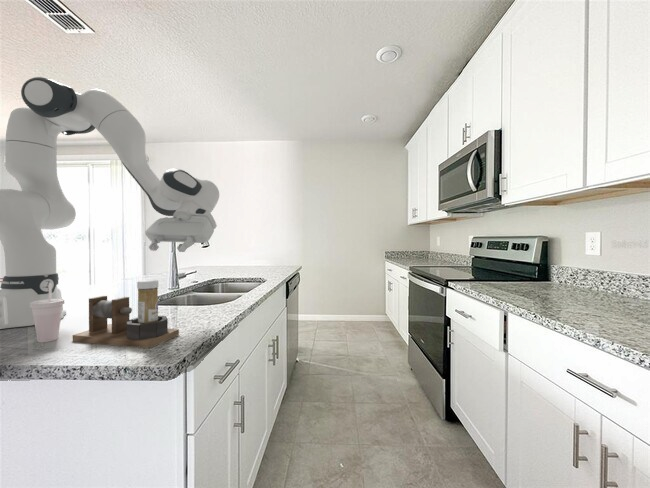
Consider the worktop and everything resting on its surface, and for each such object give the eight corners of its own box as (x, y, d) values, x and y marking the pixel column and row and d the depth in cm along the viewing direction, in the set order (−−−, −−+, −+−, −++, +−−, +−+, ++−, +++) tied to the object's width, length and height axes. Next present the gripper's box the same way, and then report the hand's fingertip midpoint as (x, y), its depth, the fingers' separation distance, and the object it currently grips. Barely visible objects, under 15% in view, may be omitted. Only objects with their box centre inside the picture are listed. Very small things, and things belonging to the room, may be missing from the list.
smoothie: (71, 337, 77) (70, 282, 77) (40, 345, 71) (39, 286, 71) (54, 334, 79) (54, 281, 79) (23, 342, 73) (22, 284, 73)
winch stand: (72, 341, 74) (72, 300, 74) (109, 329, 84) (109, 293, 84) (149, 348, 69) (148, 305, 69) (178, 335, 79) (178, 297, 79)
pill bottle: (159, 334, 75) (158, 280, 74) (137, 337, 72) (137, 281, 72) (158, 329, 79) (157, 278, 78) (137, 332, 76) (137, 279, 76)
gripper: (156, 210, 96) (129, 241, 86) (213, 210, 91) (191, 243, 82) (166, 225, 100) (141, 255, 91) (221, 226, 96) (201, 258, 86)
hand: (166, 249), depth 86 cm, fingers open, 8 cm apart
